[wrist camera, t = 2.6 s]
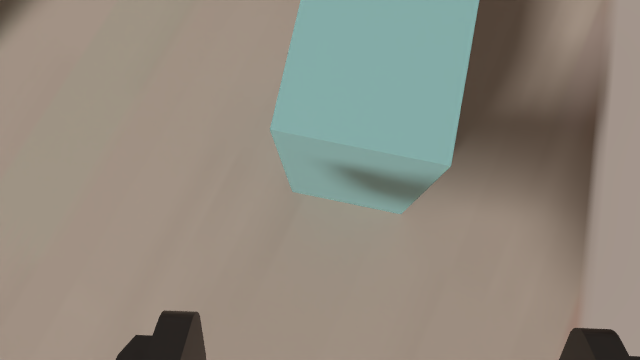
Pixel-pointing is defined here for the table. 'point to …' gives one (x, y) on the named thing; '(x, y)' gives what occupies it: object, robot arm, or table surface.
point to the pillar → (372, 98)
